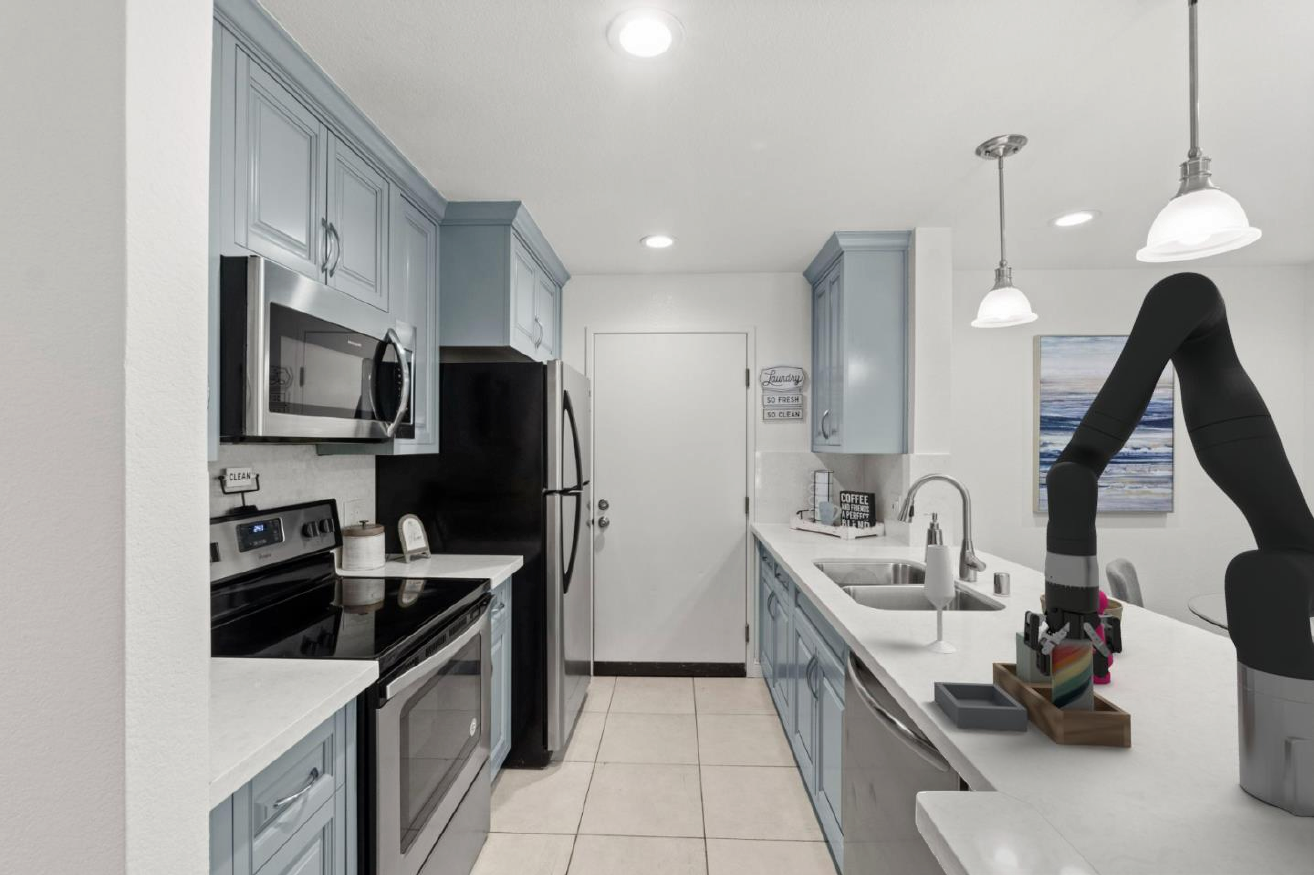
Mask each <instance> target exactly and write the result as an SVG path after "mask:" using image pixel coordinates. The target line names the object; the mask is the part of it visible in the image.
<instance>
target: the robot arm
mask: <svg viewBox="0 0 1314 875" xmlns="http://www.w3.org/2000/svg"><path fill="white" fill-rule="evenodd" d="M1227 314H1228V313H1227V308H1226V303H1225V299H1224V298H1223V296H1222V293H1221V291H1220V289H1219V287H1218V286H1217V284H1216V283H1215V282H1214V280H1212V279H1211V278H1210V277H1208V276H1206V275H1204V274H1202V273H1199V272H1195V271H1181V272H1176V273H1173V274H1170V275H1167V276H1165V277H1164V278H1162V279H1160V280H1158V281H1157V282H1156V283H1155V284H1154V285H1153V286H1151V288H1150V289H1149V290H1148V292H1147V293H1146V295H1145V297H1144V298H1143V301H1142V304H1141V307H1140V309H1139V311H1138V313H1137V316H1136V319H1135V321H1134V323H1133V326H1132V328H1131V331H1130V333H1129V335H1128V337H1127V340H1126V342H1125V344H1124V346H1123V348H1122V350H1121V353H1120V355H1119V357H1118V359H1117V360H1116V362H1115V364H1114V366H1113V368H1112V370H1111V372H1110V374H1108V377H1107V378H1106V380H1105V382H1104V384H1103V385H1102V387H1101V388H1100V390H1099V392H1098V393H1097V395H1096V396H1095V398H1094V399H1093V401H1092V403H1091V404H1090V405H1089V407H1088V410H1086V412H1085V413H1084V415H1083V417H1082V419H1081V420H1080V422H1078V423H1079V424H1078V425H1077V426H1076V428H1075V430H1074V432H1073V435H1072V436H1071V439H1070V440H1069V442H1068V443H1067V444H1066V446H1065V447H1064V448H1063V449H1062V451H1061V453H1060V454H1059V455H1058V456H1057V458H1056V460H1055V461H1054V462H1053V464H1052V465H1051V466H1050V468H1049V469H1048V472H1047V473H1046V476H1045V486H1046V496H1047V511H1048V512H1047V514H1048V515H1047V517H1048V520H1047V524H1046V531H1045V532H1046V533H1045V534H1046V537H1045V538H1046V539H1045V540H1046V541H1045V542H1046V546H1045V548H1046V549H1045V550H1046V551H1045V552H1046V555H1045V560H1044V572H1043V574H1044V594H1045V604H1046V610H1045V612H1044V614H1043V613H1037V612H1032V611H1031V610H1027V611H1025V612H1024V624H1023V625H1024V626H1023V632H1024V639H1023V643H1024V644H1025V645H1026V646H1028V647H1029V648H1031V649H1032V650H1035V651H1036V667H1037V669H1038V670H1039V671H1040V673H1041V674H1043V675H1044V676H1050V655H1049V654H1048V653H1049V652H1050V651H1051V650H1052V649H1053V647H1054V646H1056V645H1058V644H1059V643H1060V641H1061V640H1063V638H1065V636H1066V633H1067V632H1069V622H1067V623H1065V624H1063V625H1062V613H1065V611H1068V612H1074V613H1079V614H1085V623H1084V630H1085V638H1084V639H1090V640H1091V641H1092V645H1093V649H1094V650H1095V653H1093V674H1094V675H1095V676H1096V677H1098V678H1099V679H1105V675H1108V671H1109V668H1108V657H1109V656H1110V655H1111V654H1112V655H1113V654H1119V655H1120V654H1121V653H1122V652H1123V642H1122V640H1123V639H1122V629H1121V624H1120V619H1119V618H1117V617H1115V616H1113V615H1111V614H1108V613H1106V614H1104V615H1101V616H1099V615H1098V610H1099V590H1100V568H1099V563H1098V562H1099V561H1098V553H1097V552H1098V541H1097V540H1098V539H1097V538H1098V534H1097V528H1096V527H1097V526H1096V520H1097V510H1098V502H1099V501H1098V500H1099V499H1098V498H1099V483H1098V482H1099V479H1100V477H1101V476H1102V474H1103V473H1104V471H1105V470H1106V468H1107V466H1108V465H1109V463H1110V462H1111V461H1112V459H1113V458H1114V457H1115V456H1117V455H1118V454H1119V453H1120V452H1121V451H1122V449H1123V448H1124V447H1125V445H1126V443H1127V442H1128V441H1129V439H1130V438H1131V437H1132V434H1133V433H1134V431H1136V429H1137V427H1138V426H1139V424H1140V422H1141V420H1142V419H1143V417H1144V415H1145V413H1146V411H1147V409H1148V407H1149V404H1150V403H1151V400H1152V398H1153V395H1154V393H1155V391H1156V387H1157V385H1158V383H1159V380H1160V378H1161V376H1162V375H1163V372H1164V371H1165V369H1166V367H1167V365H1168V363H1169V361H1171V363H1172V365H1173V368H1174V370H1175V372H1176V375H1177V376H1176V377H1177V379H1178V383H1179V392H1180V400H1181V401H1180V403H1181V409H1182V410H1181V411H1182V414H1183V419H1184V423H1185V427H1186V431H1187V435H1188V437H1189V440H1190V443H1191V445H1192V447H1193V450H1194V453H1195V456H1196V459H1197V461H1198V463H1199V465H1200V466H1201V468H1202V469H1203V471H1204V472H1205V474H1206V475H1207V476H1208V477H1209V479H1211V480H1212V481H1213V483H1214V484H1215V485H1216V486H1217V487H1218V488H1219V489H1220V490H1221V491H1222V492H1223V493H1224V494H1225V495H1226V496H1227V497H1228V498H1229V499H1230V500H1231V501H1232V502H1233V504H1234V505H1235V506H1236V507H1237V508H1238V509H1239V511H1240V512H1241V514H1242V515H1243V516H1244V518H1245V519H1246V521H1247V524H1248V525H1249V527H1250V530H1251V532H1252V535H1253V538H1254V541H1255V543H1256V546H1257V549H1250V550H1246V551H1242V552H1239V553H1238V554H1236V555H1235V556H1234V557H1233V558H1232V559H1231V560H1230V561H1229V563H1228V565H1227V567H1226V569H1225V573H1224V585H1223V586H1224V588H1223V589H1224V600H1225V610H1226V612H1225V614H1226V622H1227V630H1228V635H1229V638H1230V640H1231V642H1232V644H1233V647H1234V648H1235V651H1236V680H1237V681H1236V686H1237V690H1236V691H1237V692H1236V694H1237V696H1236V697H1237V728H1238V730H1237V731H1238V734H1237V737H1238V763H1239V764H1238V770H1239V771H1238V773H1239V785H1240V786H1241V788H1242V789H1243V790H1244V791H1246V792H1247V793H1248V794H1250V795H1252V796H1253V797H1255V798H1257V799H1259V800H1261V801H1263V802H1265V803H1267V804H1270V805H1273V806H1276V807H1278V808H1281V809H1283V810H1286V811H1288V812H1289V813H1291V814H1293V815H1295V816H1305V817H1307V816H1309V817H1314V640H1313V635H1312V634H1313V633H1312V625H1311V618H1314V515H1313V513H1312V512H1311V509H1310V507H1309V506H1308V504H1307V501H1306V499H1305V496H1304V493H1303V491H1302V489H1301V486H1300V484H1299V481H1298V479H1297V477H1296V475H1295V472H1294V470H1293V468H1292V466H1291V463H1290V460H1289V459H1288V456H1287V453H1286V450H1285V448H1284V444H1283V442H1282V439H1281V436H1280V434H1279V432H1278V429H1277V427H1276V425H1275V421H1274V419H1273V417H1272V415H1271V412H1270V410H1269V408H1268V406H1267V404H1266V403H1265V400H1264V399H1263V396H1262V395H1261V393H1260V391H1259V390H1258V388H1257V387H1256V385H1255V383H1254V382H1253V380H1252V379H1251V377H1250V376H1249V375H1248V373H1247V371H1246V370H1245V369H1244V367H1243V365H1242V363H1241V361H1240V359H1239V357H1238V353H1237V352H1236V348H1235V345H1234V341H1233V337H1232V333H1231V329H1230V325H1229V320H1228V315H1227ZM1043 623H1045V624H1046V625H1047V626H1046V627H1045V628H1044V629H1043V631H1042V632H1041V633H1042V634H1041V637H1040V639H1039V633H1040V628H1041V627H1042V626H1043ZM1100 624H1101V625H1102V627H1104V635H1105V644H1104V642H1103V641H1102V639H1101V638H1100V637H1099V636H1098V635H1097V633H1096V632H1095V630H1096V629H1097V628H1098V627H1099V625H1100ZM1052 635H1053V636H1052ZM1038 639H1039V640H1038Z"/></svg>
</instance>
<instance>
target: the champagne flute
mask: <svg viewBox="0 0 1314 875" xmlns="http://www.w3.org/2000/svg"><path fill="white" fill-rule="evenodd" d="M924 574H925V575H924V586H923V587H924V588H923V593H924V595H925V597H926V599H927V600H928V601H929V602H930V603H931V604H932V605H934V607H936V625H937V626H936V633H937V634H936V635H937V636H936V639H937V640H933V641H932V642H930V643H928V644H925V645H924V648H925V649H926V650H928V651H929V652H930V651H931V652H934V653H939V654H953V653H954V654H955V653H956V652H957V649H956V648H955V647H953V646H952V645H950V644H948V643H947V642H946V641H945V640H943V639H944V637H943V636H944V635H943V634H944V633H943V632H944V631H943V630H944V628H943V626H944V625H943V624H944V623H943V621H944V620H943V619H944V617H943V608H944V607H946V606H948V605H949V604H950V603H951V602H952V601H953V600H954V599H955V597H956V590H955V589H956V588H955V587H956V586H955V580H954V572H953V562H952V553H951V546H949V545H943V544H928V545H927V552H926V563H925V573H924Z"/></svg>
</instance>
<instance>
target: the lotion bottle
mask: <svg viewBox="0 0 1314 875" xmlns="http://www.w3.org/2000/svg"><path fill="white" fill-rule="evenodd" d="M1067 622H1069V632H1067V633H1066V636H1065V638H1063V640H1061V641H1060V643H1059V644H1058V645H1056V646H1054V647H1053V649H1052V704H1053V705H1054V706H1056V707H1057V708H1058V709H1060V710H1085V711H1094V693H1093V691H1094V683H1093V645H1092V641H1091V640H1090V639H1084V638H1085V630H1084V623H1085V614H1079V613H1074V612H1068V611H1065V613H1062V625H1063V624H1065V623H1067ZM1053 635H1054V634H1053ZM1053 635H1052V636H1053Z"/></svg>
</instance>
